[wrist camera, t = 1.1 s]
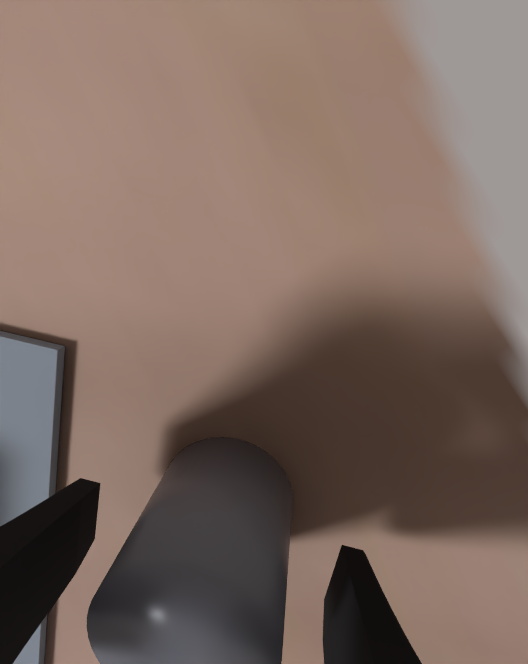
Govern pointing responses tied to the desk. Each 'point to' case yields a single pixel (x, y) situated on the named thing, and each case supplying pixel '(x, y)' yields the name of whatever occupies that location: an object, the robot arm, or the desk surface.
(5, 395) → the mat
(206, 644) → the dark grey cylinder
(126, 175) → the desk surface
